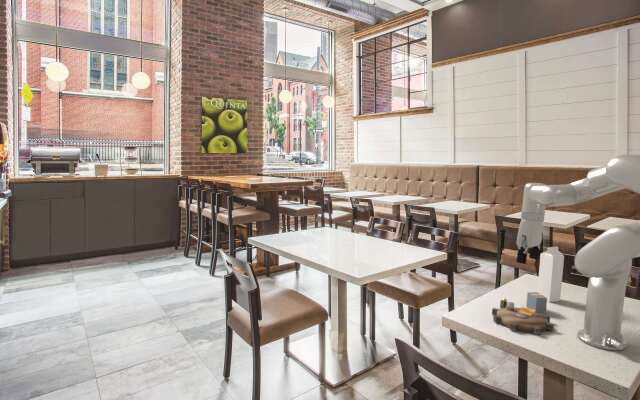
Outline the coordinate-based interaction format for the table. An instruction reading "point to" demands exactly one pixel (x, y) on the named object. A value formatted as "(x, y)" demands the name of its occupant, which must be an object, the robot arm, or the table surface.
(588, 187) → the robot arm
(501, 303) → the block with gold knob
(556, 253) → the milk
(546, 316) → the sprocket
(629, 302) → the table surface
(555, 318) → the table surface
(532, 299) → the link block
